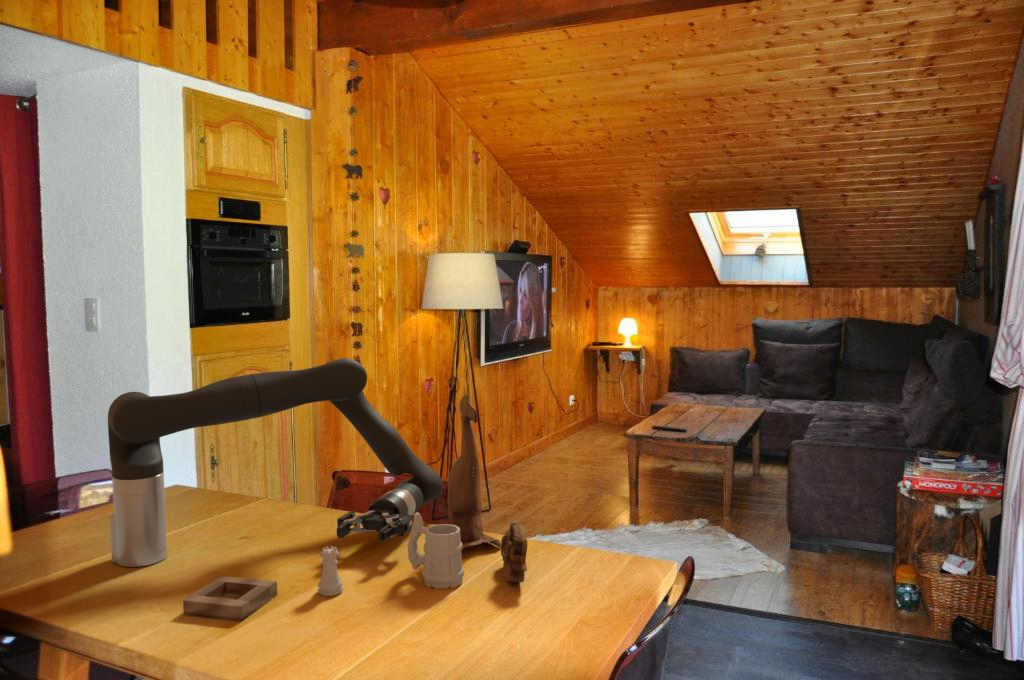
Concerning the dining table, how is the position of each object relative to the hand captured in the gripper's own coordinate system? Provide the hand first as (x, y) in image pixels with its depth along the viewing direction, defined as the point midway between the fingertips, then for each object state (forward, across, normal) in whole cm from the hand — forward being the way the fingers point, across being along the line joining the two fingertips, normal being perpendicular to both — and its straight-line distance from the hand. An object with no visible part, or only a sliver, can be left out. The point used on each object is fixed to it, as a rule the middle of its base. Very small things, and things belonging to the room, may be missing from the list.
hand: (359, 535), depth 156 cm
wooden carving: (-2, +30, +7) cm, 31 cm away
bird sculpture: (-16, +16, +7) cm, 23 cm away
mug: (+2, +16, +7) cm, 17 cm away
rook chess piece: (+12, 0, +6) cm, 14 cm away
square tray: (+21, -14, +6) cm, 26 cm away
